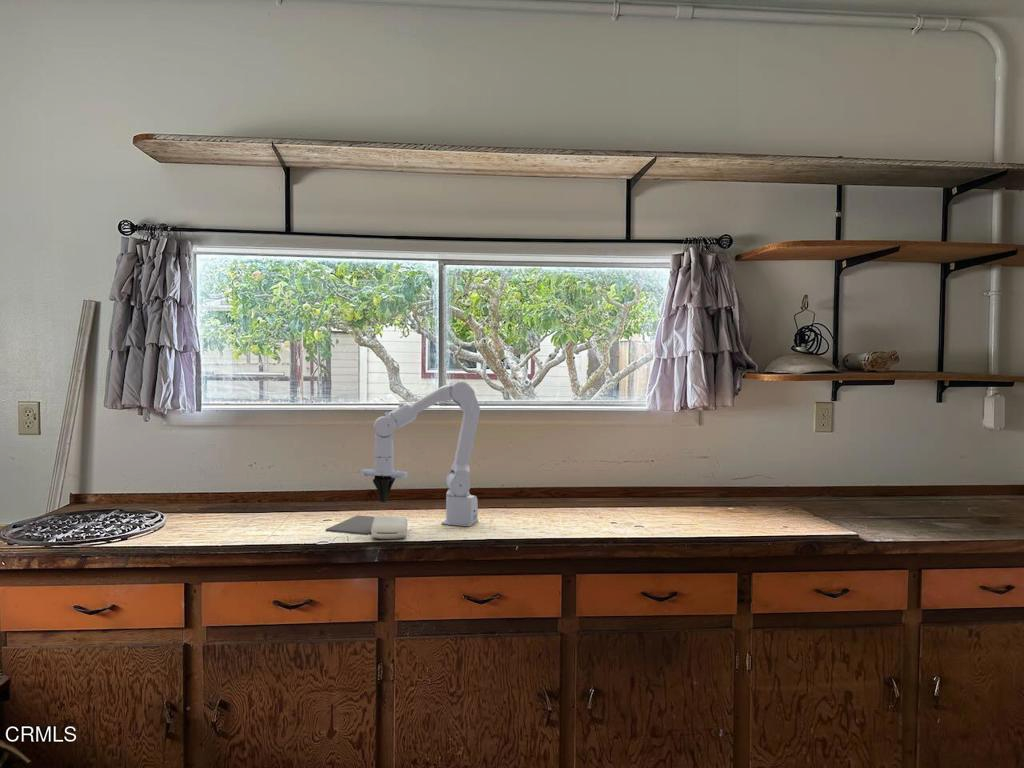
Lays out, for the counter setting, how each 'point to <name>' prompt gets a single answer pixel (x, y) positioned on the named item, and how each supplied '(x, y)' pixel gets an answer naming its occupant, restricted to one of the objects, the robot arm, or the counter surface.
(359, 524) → the mat
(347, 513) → the counter surface
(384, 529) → the photo printer
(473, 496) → the robot arm
